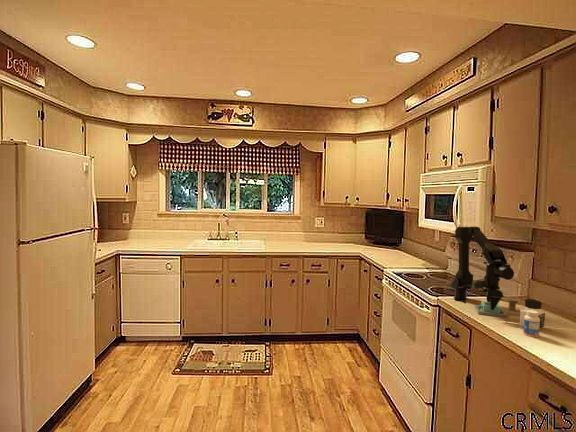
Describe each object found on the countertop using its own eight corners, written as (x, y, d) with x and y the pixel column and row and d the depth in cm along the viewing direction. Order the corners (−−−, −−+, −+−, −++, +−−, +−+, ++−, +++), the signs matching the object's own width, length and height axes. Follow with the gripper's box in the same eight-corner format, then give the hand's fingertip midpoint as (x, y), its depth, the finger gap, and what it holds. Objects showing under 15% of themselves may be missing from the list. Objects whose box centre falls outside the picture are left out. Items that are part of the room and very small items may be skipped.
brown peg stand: (501, 307, 189) (501, 297, 189) (519, 309, 187) (519, 299, 187) (504, 312, 182) (505, 301, 182) (523, 314, 179) (524, 303, 179)
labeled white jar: (537, 331, 158) (539, 303, 157) (519, 325, 163) (520, 298, 163) (544, 327, 162) (546, 300, 161) (526, 322, 168) (527, 296, 167)
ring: (496, 311, 182) (497, 303, 181) (500, 315, 175) (500, 307, 175) (477, 309, 184) (477, 301, 184) (479, 313, 178) (480, 305, 178)
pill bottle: (522, 331, 157) (523, 308, 156) (537, 333, 155) (538, 310, 154) (524, 335, 152) (526, 312, 151) (540, 338, 150) (541, 314, 149)
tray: (474, 308, 187) (474, 304, 187) (501, 311, 183) (501, 307, 183) (478, 315, 176) (478, 311, 176) (507, 319, 172) (507, 315, 172)
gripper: (471, 269, 190) (469, 299, 191) (476, 277, 172) (474, 310, 173) (495, 271, 186) (494, 302, 187) (504, 279, 168) (502, 313, 170)
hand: (490, 306), depth 179 cm, fingers open, 9 cm apart
